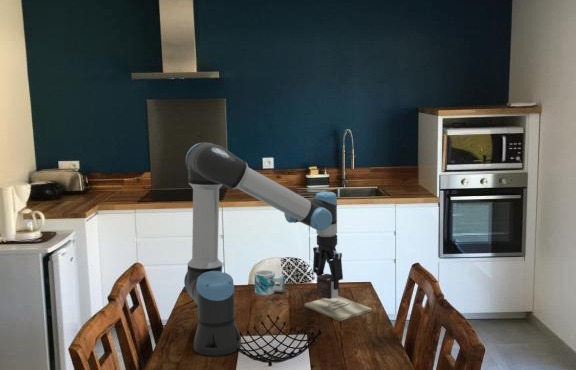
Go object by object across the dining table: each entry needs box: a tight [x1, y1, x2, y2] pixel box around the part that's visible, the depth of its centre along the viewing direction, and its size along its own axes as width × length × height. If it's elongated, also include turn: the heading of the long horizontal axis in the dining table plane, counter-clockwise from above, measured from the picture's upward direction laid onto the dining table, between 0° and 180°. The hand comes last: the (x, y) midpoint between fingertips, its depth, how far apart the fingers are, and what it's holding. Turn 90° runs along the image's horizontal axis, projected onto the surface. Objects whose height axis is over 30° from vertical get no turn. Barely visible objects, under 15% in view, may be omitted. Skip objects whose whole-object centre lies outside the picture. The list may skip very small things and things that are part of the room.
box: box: [316, 273, 340, 299], centre depth 222 cm, size 6×6×7 cm
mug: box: [254, 269, 285, 296], centre depth 246 cm, size 8×12×8 cm
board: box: [304, 295, 373, 322], centre depth 226 cm, size 16×20×1 cm
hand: (328, 294), depth 222 cm, fingers closed on box, 7 cm apart
